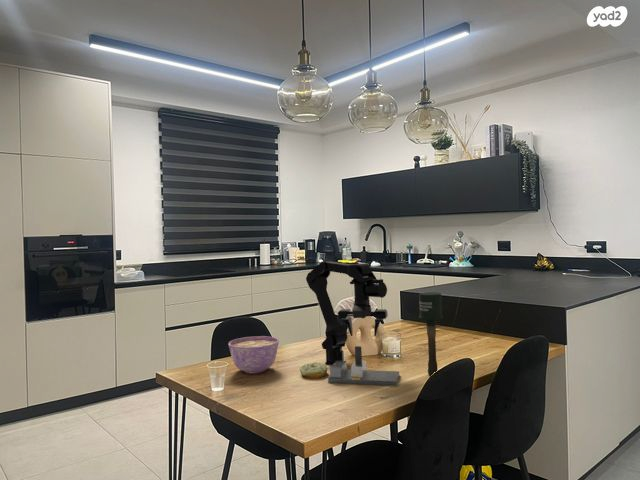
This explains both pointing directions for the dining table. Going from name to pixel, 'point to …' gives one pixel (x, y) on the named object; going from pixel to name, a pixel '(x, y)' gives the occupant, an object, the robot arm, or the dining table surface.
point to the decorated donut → (313, 370)
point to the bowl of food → (254, 353)
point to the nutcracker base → (371, 377)
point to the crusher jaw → (358, 364)
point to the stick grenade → (431, 323)
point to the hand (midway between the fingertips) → (363, 336)
